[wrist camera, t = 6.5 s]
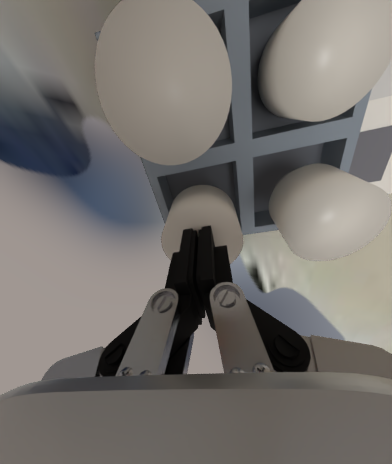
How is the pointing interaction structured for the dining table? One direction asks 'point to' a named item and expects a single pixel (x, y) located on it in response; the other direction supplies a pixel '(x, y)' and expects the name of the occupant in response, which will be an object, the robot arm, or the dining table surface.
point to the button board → (255, 125)
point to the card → (376, 137)
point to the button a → (163, 78)
